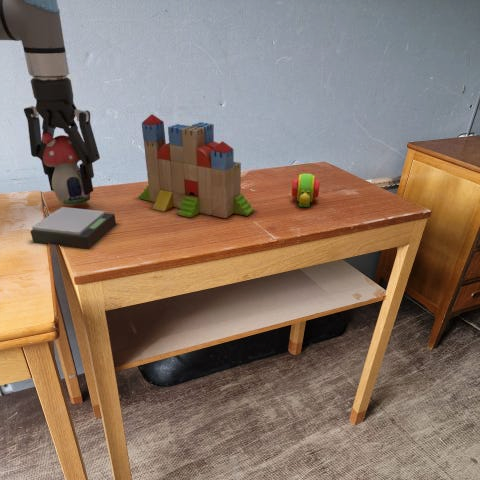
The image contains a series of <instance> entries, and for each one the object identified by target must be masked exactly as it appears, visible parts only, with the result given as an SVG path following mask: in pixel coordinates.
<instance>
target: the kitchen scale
mask: <svg viewBox="0 0 480 480" xmlns="http://www.w3.org/2000/svg"><path fill="white" fill-rule="evenodd" d="M116 225H117V222H116V216H115V213H110V212H109V213H108V212H106V211H105V210H97V209H96V210H95V209H87V208H78V207H76V208H75V207H69V206H68V207H66V206H61V207H59V208H58V209H56V210H55V211H54V212H52V213H50V214H49V215H48V216H46V217H45V218H43V219H42V220H41V221H38V223H36V224H34V225H33V226H31V228H32V229H31V230H30V235H31V238H32V241H33V243H38V244H46V245H55V246H62V247H63V246H64V247H70V248H71V247H73V248H81V249H91V248H92V247H93V246H94V245H95V244H96V243H97V242H98V241H99V240H101V239H102V238H103V237H104V236H105V235H106V234H107V233H108V232H109V231H111V230H112V229H113V228H114V227H116Z"/></svg>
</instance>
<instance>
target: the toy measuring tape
mask: <svg viewBox="0 0 480 480" xmlns="http://www.w3.org/2000/svg"><path fill="white" fill-rule="evenodd" d="M315 177H316V176H315V175H313V173H301V174H298V178H295V179H293V180H292V184H291V185H292V186H291V196H292V197H294V198H296V202H298V207H300V208H310V203H313V199H317V198H319V194H320V183H321V182H320V181H319V180H317V179H316V178H315ZM315 179H316V180H315Z"/></svg>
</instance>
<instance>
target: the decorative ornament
mask: <svg viewBox="0 0 480 480" xmlns="http://www.w3.org/2000/svg"><path fill="white" fill-rule="evenodd" d="M42 134H43V133H42ZM41 141H42V142H43V143H45V144H47V146H46V148H45V151H44V154H43V162H44V164H45V165H46V166H48V167H55V170H54V173H53V176H52V188H53V190H54V191H53V192H54V194H55V196H56V198H57V200H58V201H59V202H60V203H61V204H64V205H79V204H83V203H86V202H88V201H90V200H91V193H90V194H88V195H85V194H84V188H83V183H82V177H81V172H80V166H79V165H78V163H79V162H81V159H80V157H79V155H78V153H77V152H76V150H75V148H74V146H73V144H72V142H71V140H70V138H69V136H68V135H64V134H63V135H61V134H60V135H57V136H55V137H53V136H52V134H51V133H45V134H43V136H42V135H41Z"/></svg>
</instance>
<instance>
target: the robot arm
mask: <svg viewBox="0 0 480 480" xmlns="http://www.w3.org/2000/svg"><path fill="white" fill-rule="evenodd" d="M62 26H63V25H62V21H61V11H60V8H59V5H58V0H0V41H14V42H19V41H20V42H21V44H22V48H23V53H24V57H25V62H26V67H27V72H28V75H29V76H31V77H32V78H31V80H30V85H31V91H32V95H33V98H34V99H35V101H36V103H35V106H34V105H31V106H28V107H25V108H23V113H24V115H25V117H26V120H27V129H28V139H29V146H30V155H31V156H32V157H33V158H38V159H39V160H40V161H41V165H42V169H43V173H44V175H46V176H47V179H48V183H49V184H48V185H49V188H50V192H54V190H53V188H52V176H53V173H54V170H55V167H48V166H46V165H45V164H44V162H43V154H44V151H45V148H46V146H47V144H45V143H43V142H42V136H43V134H45V133H51V134H52V136H53V138H55V137H54V136H55V130H56V129H57V128H58V129H61V130H63V131H64V134H65V135H67V136H69V138H70V140H71V142H72V144H73V146H74V148H75V150H76V152H77V153H78V155H79V157H80V159H81V160H80V162H81V163H80V164H79V165H78V167H79V168H80V172H81V177H82V183H83V188H84V194H85V195H88V194H90V195H91V193H93V192H94V185H93V180H92V179H94V177H95V172H94V166H93V163H95V162H97V161H99V160H100V158H101V157H100V153H99V150H98V146H97V141H96V139H95V138H96V137H95V135H94V131H93V128H92V124H91V112H90V110H88V109H86V110H81V109H78V108H77V107H76V104H75V103H74V91H73V86H72V85H73V84H72V80H71V79H70V78H69V77H68V76H69V75H70V68H69V63H68V57H67V52H66V46H65V40H64V34H63V28H62ZM40 117H41V118H42V124H41V121H40ZM75 118H76V121H77V122H78V125H79V126H78V125H77V123H76V121H75ZM41 126H42V127H41ZM79 129H80V131H79ZM41 130H42V131H41Z"/></svg>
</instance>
